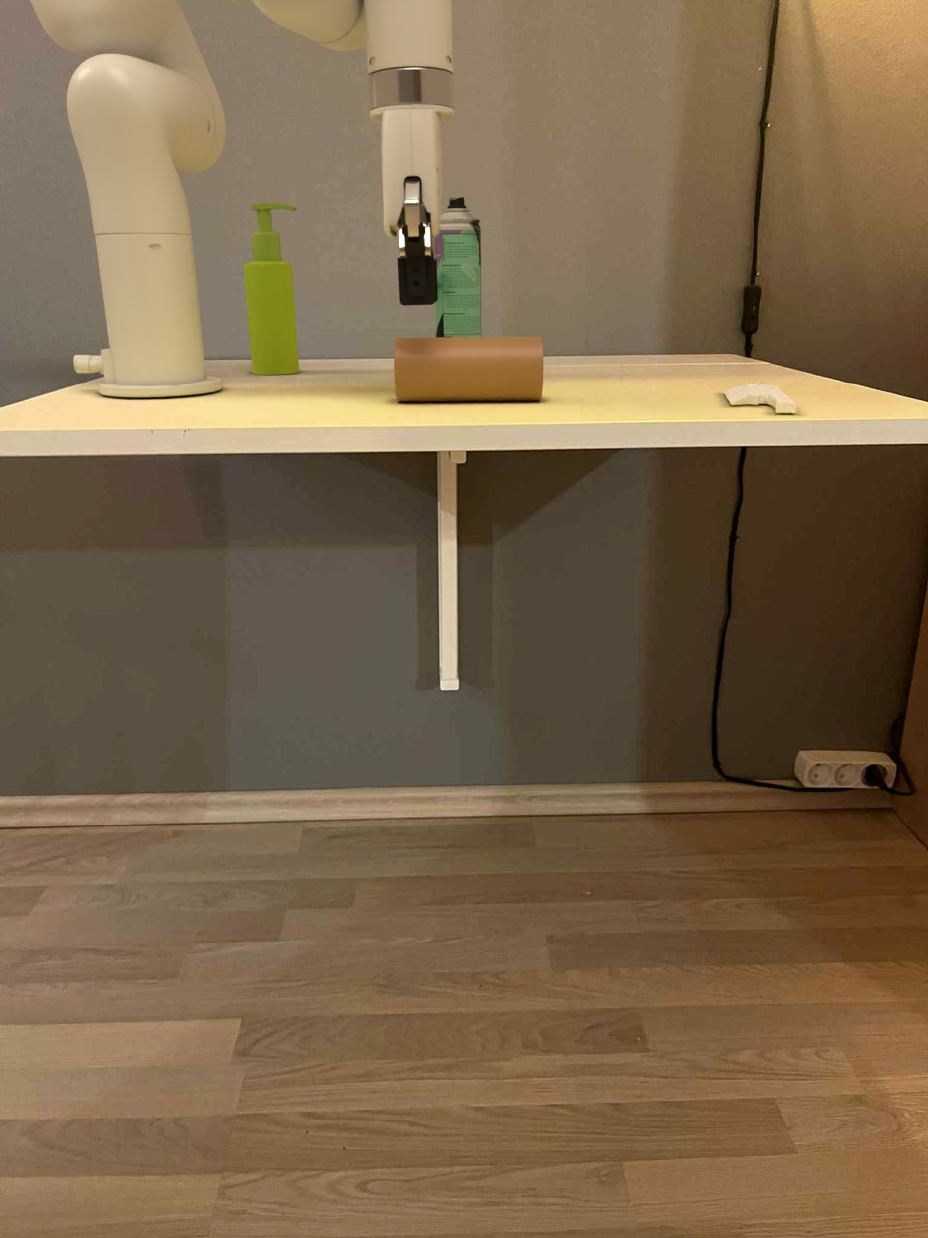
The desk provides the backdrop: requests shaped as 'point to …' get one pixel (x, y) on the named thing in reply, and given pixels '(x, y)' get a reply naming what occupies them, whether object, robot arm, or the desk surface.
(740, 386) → the white curved arc piece
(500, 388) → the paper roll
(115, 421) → the desk surface
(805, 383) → the desk surface
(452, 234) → the spray can
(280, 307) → the soap dispenser
